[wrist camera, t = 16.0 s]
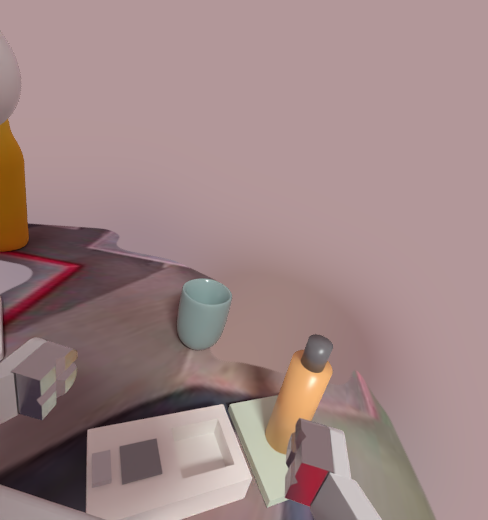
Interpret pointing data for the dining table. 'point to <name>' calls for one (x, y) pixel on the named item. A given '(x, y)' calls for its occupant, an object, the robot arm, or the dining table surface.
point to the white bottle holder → (164, 466)
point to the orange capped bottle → (300, 391)
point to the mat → (260, 447)
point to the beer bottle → (12, 193)
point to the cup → (202, 313)
